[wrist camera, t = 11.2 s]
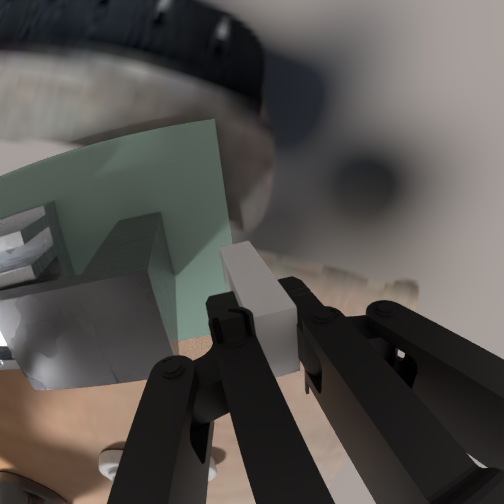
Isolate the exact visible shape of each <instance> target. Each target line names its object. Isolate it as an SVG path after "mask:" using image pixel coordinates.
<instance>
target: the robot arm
mask: <svg viewBox="0 0 504 504" xmlns="http://www.w3.org/2000/svg"><path fill="white" fill-rule="evenodd" d="M219 251H220V257H221V262H222V268H223V273H224V279H225V284H226V289H227V292H225V293H221V294H216V295H211V296H209V297H208V299H207V301H206V303H205V304H206V309H207V314H208V319H209V321H208V325H209V329H210V333H211V337H212V341H213V345H212V347H211V349H210V350H209V351H208V352H207V353H206V354H205V355H203V356H201V357H200V358H198V359H196V360H193V361H192V360H191V359H190V358H188V357H186V356H181V355H174V356H168V357H166V358H164V359H161V360H160V361H159V362H157V363H156V364H155V365H154V367H153V368H152V370H151V372H150V375H149V378H148V380H147V383H146V386H145V389H144V391H143V394H142V397H141V400H140V403H139V405H138V408H137V411H136V414H135V417H134V420H133V423H132V426H131V429H130V432H129V435H128V438H127V441H126V444H125V447H124V450H123V453H122V456H121V459H120V462H119V465H118V469H117V472H116V475H115V478H114V482H113V485H112V488H111V492H110V495H109V498H108V502H107V504H206V496H207V486H208V477H209V467H210V458H211V448H212V439H213V430H214V420H215V419H217V418H219V417H221V416H223V415H225V414H227V413H229V412H230V415H231V419H232V423H233V426H234V430H235V434H236V437H237V441H238V445H239V448H240V452H241V455H242V459H243V462H244V466H245V469H246V472H247V476H248V479H249V482H250V486H251V489H252V492H253V495H254V499H255V502H256V504H335V503H334V500H333V498H332V497H331V494H330V493H329V490H328V488H327V486H326V484H325V482H324V480H323V478H322V476H321V474H320V472H319V470H318V468H317V466H316V464H315V462H314V460H313V458H312V456H311V454H310V452H309V449H308V447H307V445H306V443H305V441H304V439H303V437H302V435H301V433H300V431H299V428H298V426H297V424H296V422H295V420H294V418H293V416H292V413H291V411H290V409H289V407H288V405H287V403H286V401H285V398H284V396H283V394H282V392H281V390H280V387H279V385H278V383H277V381H276V379H275V378H276V377H279V376H283V375H286V374H290V373H293V372H297V371H300V361H301V362H302V364H303V366H304V369H305V391H306V394H309V387H310V388H311V390H312V392H313V394H314V396H315V397H316V399H317V401H318V403H319V405H320V406H321V408H322V410H323V412H324V413H325V415H326V417H327V419H328V420H329V422H330V424H331V426H332V428H333V429H334V431H335V433H336V435H337V436H338V438H339V440H340V442H341V443H342V445H343V447H344V449H345V450H346V452H347V454H348V456H349V457H350V459H351V461H352V463H353V464H354V466H355V468H356V470H357V471H358V473H359V475H360V476H361V478H362V480H363V482H364V483H365V485H366V487H367V488H368V490H369V492H370V494H371V495H372V497H373V499H374V501H375V502H376V504H504V359H502V358H500V357H498V356H496V355H495V354H493V353H491V352H489V351H487V350H485V349H484V348H482V347H480V346H478V345H476V344H474V343H472V342H471V341H469V340H467V339H465V338H463V337H461V336H459V335H457V334H455V333H454V332H452V331H450V330H448V329H446V328H444V327H442V326H440V325H438V324H437V323H435V322H433V321H431V320H429V319H427V318H425V317H423V316H421V315H420V314H418V313H416V312H414V311H412V310H410V309H408V308H406V307H404V306H402V305H400V304H398V303H396V302H393V301H388V300H380V301H376V302H373V303H371V304H370V305H369V306H367V309H366V315H362V316H350V317H345V316H344V315H343V313H342V312H341V311H339V310H338V309H336V308H333V307H328V306H324V305H323V304H322V303H321V302H320V301H319V300H318V299H317V297H316V296H315V295H314V294H313V293H312V292H311V291H310V289H309V288H308V287H307V286H306V285H305V284H304V283H303V282H302V280H300V279H297V278H295V277H293V276H291V277H287V278H283V279H278V280H277V279H276V278H275V276H274V275H273V274H272V272H271V271H270V270H269V268H268V267H267V265H266V264H265V263H264V261H263V260H262V259H261V257H260V256H259V254H258V253H257V252H256V250H255V249H254V248H253V246H252V245H251V243H250V242H249V241H245V242H240V243H235V244H230V245H226V246H221V247H219ZM398 350H401V351H402V352H404V353H405V357H404V358H401V357H399V356H398ZM467 453H468V454H469V455H471V456H472V457H473V458H475V459H476V460H478V461H479V462H481V463H482V464H483V465H485V466H486V467H488V468H481V467H479V466H478V465H476V464H475V463H474V461H473V460H472V459H471V458H470V457H469V455H468V454H467ZM0 504H68V503H67V502H66V501H65V500H64V499H63V498H62V497H61V496H59V495H58V494H56V493H54V492H53V491H51V490H49V489H48V488H46V487H44V486H42V485H40V484H38V483H36V482H33V481H31V480H29V479H26V478H24V477H21V476H18V475H15V474H12V473H7V472H0Z"/></svg>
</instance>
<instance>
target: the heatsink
mask: <svg viewBox="0 0 504 504" xmlns="http://www.w3.org/2000/svg"><path fill="white" fill-rule="evenodd" d="M70 276H75V272H74V269H73V266H72V263H71V259H70V256H69V253H68V250H67V246H66V243H65V240H64V236H63V232H62V229H61V225H60V221H59V217H58V213H57V209H56V205H55V201H54V200H53V201H50V202H46V203H43V204H40V205H37V206H34V207H31V208H28V209H25V210H22V211H19V212H16V213H13V214H10V215H7V216H4V217H2V218H0V291H5V290H10V289H14V288H19V287H24V286H28V285H33V284H38V283H43V282H47V281H52V280H57V279H61V278H66V277H70ZM12 369H21V368H20V367H19V365H18V363H17V362H16V360H15V358H14V356H13V355H12V353H11V351H10V349H9V347H8V346H7V345H4V346H0V370H12Z"/></svg>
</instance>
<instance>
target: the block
mask: <svg viewBox="0 0 504 504" xmlns="http://www.w3.org/2000/svg"><path fill="white" fill-rule="evenodd" d="M0 332H1V334H2V336H3V338H4V340H5V342H6V344H7V346H8V347H9V349H10V351H11V353H12V355H13V356H14V358H15V360H16V362H17V363H18V365H19V367H20V368H21V370H22V372H23V373H24V375H25V377H26V378H27V380H28V381H29V383H30V384H31V386H32V387H33V389H34V390H35V391H37V390H56V389H70V388H82V387H92V386H101V385H110V384H118V383H126V382H133V381H140V380H147V379H148V378H149V375H150V372H151V370H152V368H153V367H154V365H155V364H156V363H157V362H159V361H160V360H161V359H164V358H166V357H168V356H174V355H179V347H178V329H177V308H176V278H175V274H174V270H173V266H172V262H171V257H170V253H169V249H168V244H167V240H166V235H165V231H164V226H163V221H162V216H161V211H160V212H156V213H151V214H146V215H142V216H137V217H133V218H128V219H124V220H119V221H118V222H117V223H116V225H115V226H114V227H113V229H112V230H111V232H110V233H109V234H108V236H107V237H106V239H105V240H104V241H103V243H102V244H101V246H100V247H99V249H98V250H97V252H96V253H95V255H94V256H93V258H92V259H91V261H90V262H89V264H88V265H87V267H86V268H85V270H84V271H83V273H82V274H79V275H75V276H70V277H66V278H61V279H57V280H52V281H47V282H43V283H38V284H34V285H29V286H25V287H21V288H16V289H12V290H7V291H3V292H0Z"/></svg>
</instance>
